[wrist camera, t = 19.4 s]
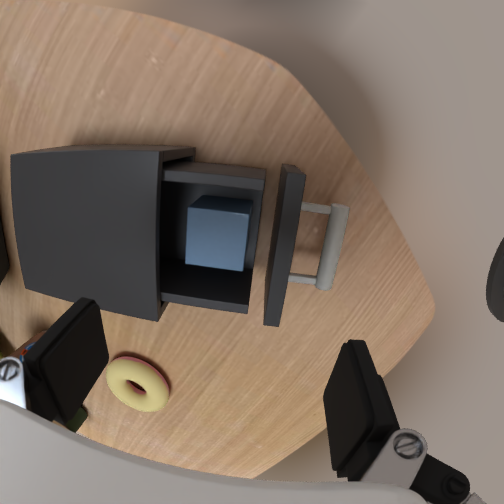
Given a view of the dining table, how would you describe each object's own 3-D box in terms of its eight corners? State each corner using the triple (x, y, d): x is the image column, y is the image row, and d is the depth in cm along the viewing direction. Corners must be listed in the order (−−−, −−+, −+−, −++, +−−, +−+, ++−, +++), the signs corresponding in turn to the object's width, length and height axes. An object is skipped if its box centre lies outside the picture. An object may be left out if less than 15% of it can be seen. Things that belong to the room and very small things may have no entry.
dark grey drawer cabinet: (195, 147, 26) (159, 150, 17) (188, 270, 30) (158, 322, 21) (71, 145, 26) (10, 154, 17) (74, 252, 30) (25, 288, 22)
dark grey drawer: (341, 173, 25) (369, 186, 18) (318, 286, 29) (332, 332, 22) (149, 151, 25) (108, 157, 18) (146, 263, 29) (113, 300, 22)
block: (253, 200, 25) (249, 214, 21) (247, 248, 27) (242, 272, 22) (202, 194, 25) (187, 206, 21) (199, 242, 27) (185, 263, 22)
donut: (161, 345, 37) (102, 349, 37) (153, 363, 33) (90, 365, 32) (179, 401, 39) (124, 402, 39) (175, 420, 35) (116, 420, 34)
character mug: (60, 382, 40) (27, 431, 28) (93, 403, 41) (64, 456, 29) (59, 407, 44) (32, 450, 32) (87, 425, 45) (64, 471, 33)
